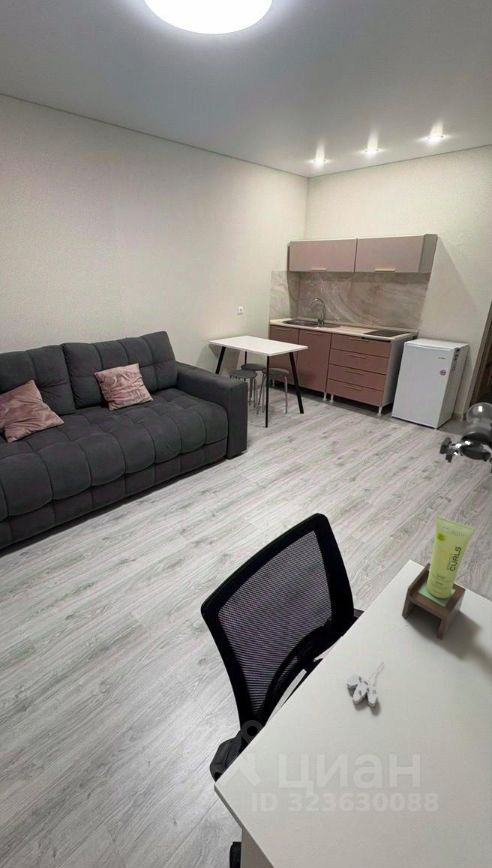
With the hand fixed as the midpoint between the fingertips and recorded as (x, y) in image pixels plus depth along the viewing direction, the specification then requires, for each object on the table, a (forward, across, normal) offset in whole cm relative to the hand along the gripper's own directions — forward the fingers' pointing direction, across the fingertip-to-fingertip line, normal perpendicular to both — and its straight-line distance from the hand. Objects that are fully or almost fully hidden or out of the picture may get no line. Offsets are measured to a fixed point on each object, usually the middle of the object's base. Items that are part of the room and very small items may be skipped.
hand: (471, 464), depth 91 cm
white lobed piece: (+36, -6, +36) cm, 52 cm away
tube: (+10, 0, +29) cm, 31 cm away
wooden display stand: (+10, 0, +36) cm, 37 cm away
